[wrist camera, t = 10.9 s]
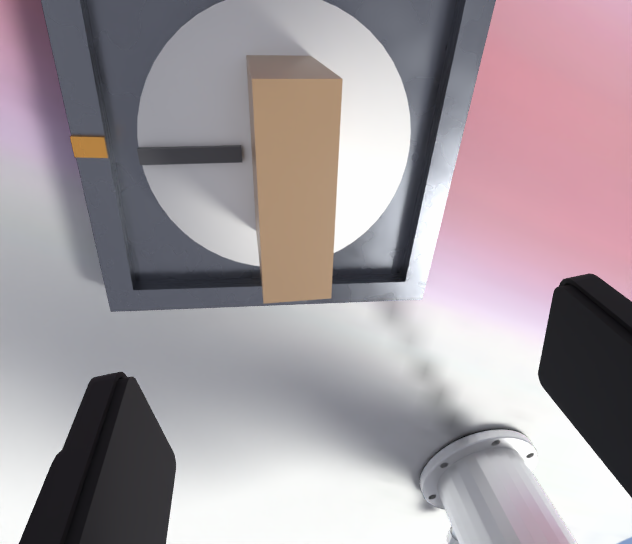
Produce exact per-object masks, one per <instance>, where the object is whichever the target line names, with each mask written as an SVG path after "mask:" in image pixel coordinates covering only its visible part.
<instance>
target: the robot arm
mask: <svg viewBox="0 0 632 544" xmlns="http://www.w3.org/2000/svg"><path fill="white" fill-rule="evenodd" d="M538 376H539V380H540V383H541V385H542V387H543V388H544V389H545V391H546V392H547V393H548V394H549V396H550V397H551V398H552V399H553V401H554V402H555V403H556V404H557V406H558V407H559V408H560V409H561V410H562V412H563V413H564V414H565V415H566V417H567V418H568V419H569V420H570V422H571V423H572V424H573V425H574V427H575V428H576V429H577V430H578V432H579V433H580V434H581V435H582V437H583V438H584V439H585V440H586V442H587V443H588V444H589V445H590V446H591V448H592V449H593V450H594V451H595V453H596V454H597V455H598V456H599V458H600V459H601V460H602V461H603V463H604V464H605V465H606V466H607V468H608V469H609V470H610V471H611V473H612V474H613V475H614V476H615V478H616V479H617V480H618V481H619V483H620V484H621V485H622V486H623V487H624V489H625V490H626V491H627V492H628V494H629V495H630V496H631V497H632V302H631V301H630V300H629V299H627V298H626V297H625V296H623V295H622V294H621V293H619V292H618V291H616V290H615V289H614V288H612V287H611V286H610V285H608V284H607V283H606V282H604V281H603V280H602V279H600V278H599V277H598V276H596V275H594V274H585V275H580V276H576V277H571V278H566V279H563V280H562V281H561V282H560V285H559V287H557V288H556V289H555V290H554V293H553V298H552V303H551V308H550V314H549V319H548V324H547V329H546V334H545V339H544V345H543V350H542V355H541V360H540V365H539V371H538ZM537 458H538V455H537V451H536V449H535V447H534V446H533V444H532V442H531V441H530V440H529V439H528V438H527V437H526V436H525V435H523V434H521V433H519V432H515V431H512V430H502V429H499V430H488V431H483V432H478V433H475V434H472V435H468V436H466V437H463V438H461V439H459V440H457V441H455V442H453V443H451V444H450V445H448V446H446V447H445V448H443V449H442V450H441V451H439V452H438V453H437V454H436V455H435V456H434V457H433V458H432V459H431V460H430V461H429V462H428V463H427V465H426V466H425V467H424V469H423V471H422V474H421V477H420V488H421V491H422V493H423V496H424V498H425V499H426V500H427V502H428V503H430V504H431V505H433V506H435V507H438V508H440V509H445V511H446V513H447V515H448V518H449V520H450V523H451V526H452V527H451V528H450V531H449V533H448V535H447V542H448V544H577V542H576V540H575V539H574V537H573V536H572V534H571V532H570V531H569V529H568V528H567V526H566V525H565V523H564V521H563V520H562V518H561V517H560V515H559V514H558V512H557V510H556V509H555V507H554V506H553V504H552V502H551V501H550V499H549V498H548V496H547V495H546V493H545V491H544V490H543V488H542V487H541V485H540V484H539V482H538V480H537V479H536V477H535V476H534V474H533V471H534V468H535V466H536V464H537ZM175 472H176V461H175V455H174V453H173V451H172V449H171V447H170V445H169V443H168V441H167V439H166V437H165V435H164V433H163V431H162V429H161V427H160V425H159V423H158V421H157V420H156V418H155V416H154V414H153V412H152V410H151V408H150V406H149V404H148V402H147V400H146V398H145V396H144V394H143V392H142V390H141V389H140V387H139V385H138V383H137V381H136V379H135V378H134V377H127V376H126V375H125V374H124V373H123V372H117V373H113V374H108V375H103V376H98V377H94V378H92V379H91V381H90V382H89V384H88V387H87V389H86V392H85V394H84V397H83V399H82V402H81V404H80V407H79V409H78V412H77V414H76V417H75V419H74V422H73V424H72V427H71V429H70V432H69V434H68V437H67V439H66V442H65V444H64V447H63V449H62V450H61V451H60V452H59V453H58V454H57V455H56V457H55V459H54V461H53V462H52V464H51V467H50V469H49V472H48V474H47V477H46V479H45V481H44V484H43V486H42V489H41V491H40V494H39V496H38V498H37V501H36V503H35V506H34V508H33V511H32V513H31V515H30V518H29V520H28V523H27V525H26V528H25V530H24V532H23V535H22V537H21V540H20V542H19V544H166V538H167V531H168V523H169V516H170V509H171V501H172V494H173V487H174V479H175Z"/></svg>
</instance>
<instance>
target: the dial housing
mask: <svg viewBox="0 0 632 544" xmlns="http://www.w3.org/2000/svg"><path fill="white" fill-rule="evenodd" d="M222 1H225V0H41V3H42V7H43V12H44V16H45V21H46V25H47V29H48V34H49V38H50V43H51V47H52V52H53V56H54V61H55V65H56V70H57V74H58V79H59V83H60V87H61V92H62V96H63V101H64V105H65V110H66V114H67V119H68V123H69V128H70V132H71V136H70V139H71V143H72V148H73V152H74V157H76V159H77V163H78V168H79V172H80V177H81V181H82V186H83V190H84V194H85V199H86V203H87V208H88V212H89V217H90V221H91V226H92V230H93V235H94V239H95V243H96V248H97V252H98V257H99V261H100V266H101V270H102V275H103V279H104V284H105V288H106V293H107V297H108V301H109V306H110V310H111V312H114V311H140V310H165V309H191V308H217V307H242V306H268V305H294V304H320V303H345V302H371V301H397V300H422V298H423V294H424V290H425V286H426V282H427V278H428V274H429V269H430V265H431V261H432V257H433V253H434V249H435V245H436V241H437V237H438V233H439V229H440V225H441V221H442V217H443V213H444V208H445V204H446V200H447V196H448V192H449V188H450V184H451V180H452V176H453V172H454V168H455V164H456V160H457V156H458V152H459V148H460V143H461V139H462V135H463V131H464V127H465V123H466V119H467V115H468V111H469V107H470V103H471V99H472V95H473V91H474V87H475V82H476V78H477V74H478V70H479V66H480V62H481V58H482V54H483V50H484V46H485V42H486V38H487V34H488V30H489V26H490V21H491V17H492V13H493V9H494V5H495V1H496V0H323V1H325V2H327V3H330V4H332V5H334V6H336V7H338V8H340V9H341V10H343V11H345V12H346V13H348V14H349V15H351V16H353V17H354V18H355V19H357V20H358V21H359V22H360V23H361V24H362V25H364V26H365V27H366V28H367V29H368V30H369V31H370V32H371V33H372V34H373V35H374V36H375V37H376V39H377V40H378V41H379V42H380V43H381V44H382V45H383V47H384V48H385V50H386V51H387V53H388V55H389V56H390V58H391V59H392V61H393V62H394V64H395V67H396V69H397V71H398V73H399V75H400V77H401V80H402V83H403V86H404V89H405V92H406V95H407V100H408V106H409V112H410V126H411V135H410V148H409V154H408V159H407V164H406V167H405V170H404V173H403V176H402V179H401V182H400V184H399V186H398V188H397V190H396V193H395V195H394V197H393V198H392V200H391V201H390V203H389V205H388V206H387V208H386V209H385V211H384V212H383V213H382V214H381V216H380V217H379V218H378V220H377V221H376V222H375V223H374V224H373V225H372V226H371V227H370V228H369V229H368V230H367V231H366V232H365V233H364V234H362V235H361V236H360V237H359V238H357V239H356V240H355V241H354V242H352V243H351V244H349V245H347V246H346V247H344V248H343V249H341V250H339V251H337V252H335V253H334V255H333V274H332V293H331V298H330V299H317V300H304V301H291V302H278V303H265V304H263V294H262V284H261V274H260V266H254V265H249V264H244V263H240V262H236V261H233V260H230V259H227V258H224V257H222V256H220V255H218V254H216V253H214V252H211V251H209V250H208V249H206V248H204V247H203V246H201V245H200V244H198V243H197V242H195V241H194V240H192V239H191V238H190V237H189V236H188V235H186V234H185V233H184V232H183V231H182V230H181V229H180V228H179V227H178V226H177V225H176V224H175V223H174V222H173V221H172V220H171V219H170V218H169V216H168V215H167V214H166V212H165V211H164V210H163V208H162V207H161V206H160V204H159V203H158V201H157V199H156V197H155V196H154V194H153V192H152V190H151V188H150V186H149V183H148V181H147V178H146V176H145V173H144V170H143V166H142V165H140V162H139V157H138V152H137V148H138V147H139V146H138V138H137V117H138V111H139V104H140V98H141V94H142V91H143V88H144V85H145V81H146V78H147V76H148V74H149V72H150V70H151V68H152V66H153V63H154V61H155V60H156V58H157V57H158V55H159V54H160V52H161V51H162V49H163V48H164V46H165V45H166V43H167V42H168V41H169V40H170V39H171V38H172V37H173V35H174V34H175V33H176V32H177V31H178V30H179V29H180V28H181V27H182V26H183V25H185V24H186V23H187V22H188V21H190V20H191V19H192V18H193V17H195V16H196V15H197V14H199V13H201V12H202V11H204V10H206V9H208V8H209V7H211V6H213V5H215V4H217V3H219V2H222Z"/></svg>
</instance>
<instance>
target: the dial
mask: <svg viewBox="0 0 632 544" xmlns="http://www.w3.org/2000/svg"><path fill="white" fill-rule="evenodd" d="M410 135H411V126H410V112H409V106H408V100H407V95H406V92H405V89H404V86H403V83H402V80H401V77H400V75H399V73H398V71H397V69H396V67H395V64H394V62H393V61H392V59H391V58H390V56H389V55H388V53H387V51H386V50H385V48H384V47H383V45H382V44H381V43H380V42H379V41H378V40H377V39H376V37H375V36H374V35H373V34H372V33H371V32H370V31H369V30H368V29H367V28H366V27H365V26H364V25H362V24H361V23H360V22H359V21H358V20H357V19H355V18H354V17H353V16H351V15H349V14H348V13H346V12H345V11H343V10H341V9H340V8H338V7H336V6H334V5H332V4H330V3H327V2H325V1H323V0H225V1H222V2H219V3H217V4H215V5H213V6H211V7H209V8H208V9H206V10H204V11H202V12H201V13H199V14H197V15H196V16H195V17H193V18H192V19H191V20H190V21H188V22H187V23H186V24H185V25H183V26H182V27H181V28H180V29H179V30H178V31H177V32H176V33H175V34H174V35H173V37H172V38H171V39H170V40H169V41H168V42H167V43H166V45H165V46H164V48H163V49H162V51H161V52H160V54H159V55H158V57H157V58H156V60H155V61H154V63H153V66H152V68H151V70H150V72H149V74H148V76H147V78H146V81H145V85H144V88H143V91H142V94H141V98H140V104H139V111H138V117H137V138H138V146H139V147H138V148H137V152H138V157H139V162H140V165H142V166H143V170H144V173H145V176H146V178H147V181H148V183H149V186H150V188H151V190H152V192H153V194H154V196H155V197H156V199H157V201H158V203H159V204H160V206H161V207H162V208H163V210H164V211H165V212H166V214H167V215H168V216H169V218H170V219H171V220H172V221H173V222H174V223H175V224H176V225H177V226H178V227H179V228H180V229H181V230H182V231H183V232H184V233H185V234H186V235H188V236H189V237H190V238H191V239H192V240H194V241H195V242H197V243H198V244H200V245H201V246H203V247H204V248H206V249H208V250H209V251H211V252H214V253H216V254H218V255H220V256H222V257H224V258H227V259H230V260H233V261H236V262H240V263H244V264H249V265H254V266H260V274H261V284H262V294H263V304H265V303H278V302H291V301H304V300H317V299H330V298H331V293H332V274H333V255H334V253H335V252H337V251H339V250H341V249H343V248H344V247H346V246H347V245H349V244H351V243H352V242H354V241H355V240H356V239H357V238H359V237H360V236H361V235H362V234H364V233H365V232H366V231H367V230H368V229H369V228H370V227H371V226H372V225H373V224H374V223H375V222H376V221H377V220H378V218H379V217H380V216H381V214H382V213H383V212H384V211H385V209H386V208H387V206H388V205H389V203H390V201H391V200H392V198H393V197H394V195H395V193H396V190H397V188H398V186H399V184H400V182H401V179H402V176H403V173H404V170H405V167H406V164H407V159H408V154H409V148H410Z"/></svg>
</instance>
